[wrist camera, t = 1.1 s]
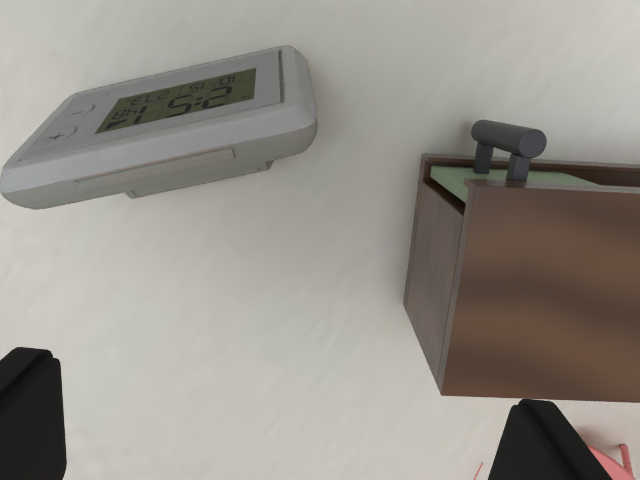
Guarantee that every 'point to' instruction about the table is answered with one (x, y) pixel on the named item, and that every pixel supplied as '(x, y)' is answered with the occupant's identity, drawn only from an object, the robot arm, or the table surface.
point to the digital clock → (167, 131)
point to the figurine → (612, 464)
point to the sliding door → (522, 147)
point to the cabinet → (529, 283)
